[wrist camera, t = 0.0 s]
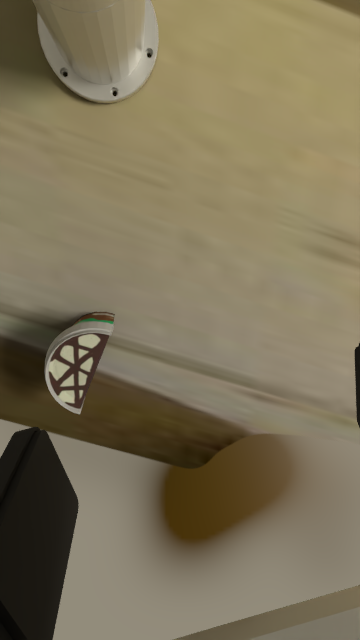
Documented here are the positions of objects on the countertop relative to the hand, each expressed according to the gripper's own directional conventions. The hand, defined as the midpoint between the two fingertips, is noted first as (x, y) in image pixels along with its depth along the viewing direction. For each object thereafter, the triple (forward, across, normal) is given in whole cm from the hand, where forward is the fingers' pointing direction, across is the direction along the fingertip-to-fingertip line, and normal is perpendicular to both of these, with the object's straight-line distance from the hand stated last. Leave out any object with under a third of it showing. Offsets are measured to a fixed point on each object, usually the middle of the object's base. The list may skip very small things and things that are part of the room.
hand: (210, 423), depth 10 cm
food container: (+37, +13, +9) cm, 40 cm away
